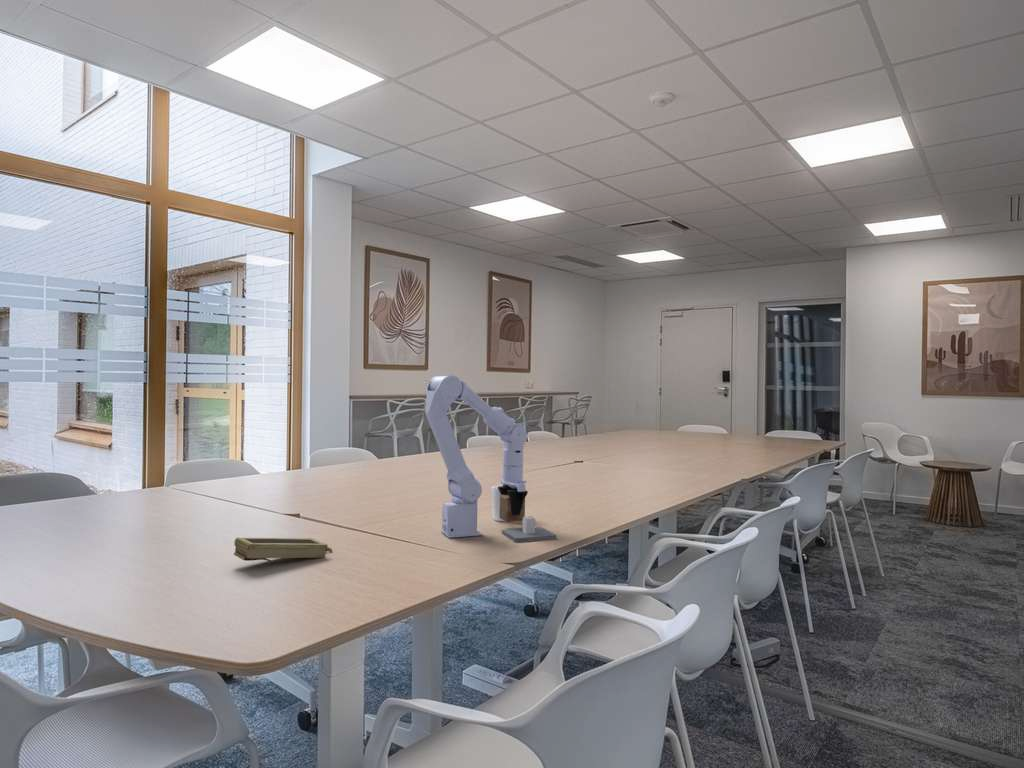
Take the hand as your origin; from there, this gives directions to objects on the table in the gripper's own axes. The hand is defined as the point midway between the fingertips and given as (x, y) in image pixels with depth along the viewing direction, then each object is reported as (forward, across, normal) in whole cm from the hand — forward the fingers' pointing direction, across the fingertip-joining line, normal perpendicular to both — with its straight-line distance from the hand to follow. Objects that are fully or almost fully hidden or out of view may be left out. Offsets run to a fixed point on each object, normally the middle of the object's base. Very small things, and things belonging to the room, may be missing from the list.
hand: (512, 512), depth 178 cm
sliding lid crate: (+2, 0, 0) cm, 2 cm away
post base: (+4, -10, -1) cm, 11 cm away
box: (+5, -14, +61) cm, 63 cm away
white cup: (+5, +12, -2) cm, 13 cm away
